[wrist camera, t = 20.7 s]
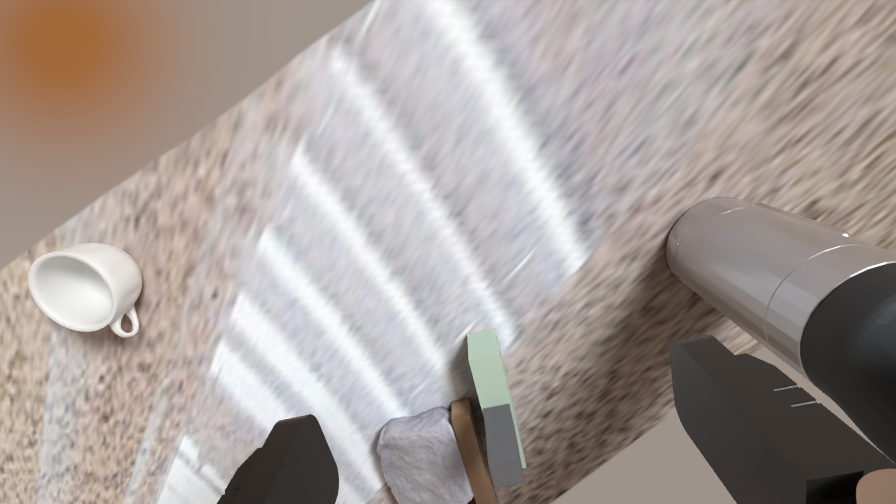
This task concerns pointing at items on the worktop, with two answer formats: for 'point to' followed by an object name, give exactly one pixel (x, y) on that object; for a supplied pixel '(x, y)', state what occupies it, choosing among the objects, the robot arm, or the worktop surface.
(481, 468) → the wooden u-shaped frame
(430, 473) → the stone block
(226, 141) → the worktop surface
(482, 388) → the board
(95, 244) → the teacup
